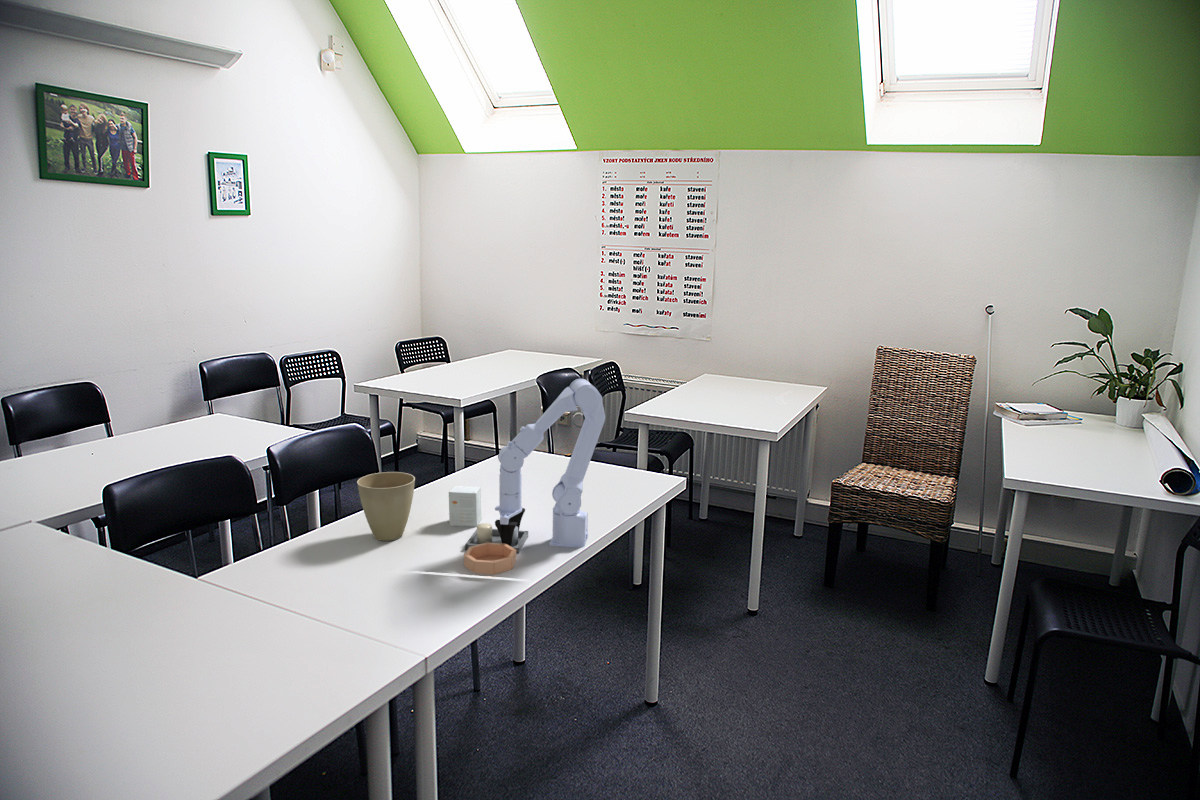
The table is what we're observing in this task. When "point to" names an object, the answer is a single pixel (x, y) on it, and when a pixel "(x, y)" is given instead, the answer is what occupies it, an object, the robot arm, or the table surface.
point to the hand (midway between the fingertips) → (510, 540)
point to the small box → (465, 506)
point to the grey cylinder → (515, 537)
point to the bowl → (490, 558)
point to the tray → (499, 539)
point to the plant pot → (387, 502)
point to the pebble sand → (484, 533)
